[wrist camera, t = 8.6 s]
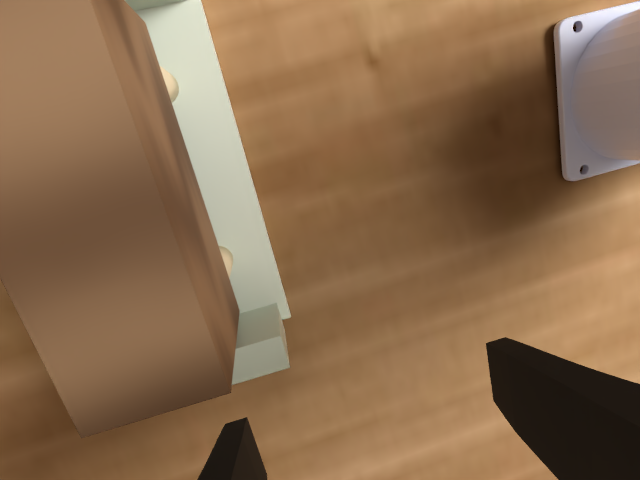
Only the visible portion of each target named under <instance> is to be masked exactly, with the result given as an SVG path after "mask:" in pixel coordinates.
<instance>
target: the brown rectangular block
mask: <svg viewBox="0 0 640 480" xmlns="http://www.w3.org/2000/svg"><path fill="white" fill-rule="evenodd" d="M0 279H1V281H2V283H3V285H4V287H5V289H6V291H7V293H8V295H9V297H10V298H11V300H12V302H13V304H14V306H15V308H16V310H17V312H18V314H19V316H20V318H21V320H22V322H23V324H24V326H25V328H26V330H27V332H28V334H29V336H30V338H31V340H32V342H33V344H34V346H35V348H36V350H37V352H38V354H39V356H40V358H41V360H42V362H43V364H44V366H45V368H46V370H47V372H48V374H49V376H50V378H51V380H52V382H53V384H54V385H55V387H56V389H57V391H58V393H59V395H60V397H61V399H62V401H63V403H64V405H65V407H66V409H67V411H68V413H69V415H70V417H71V419H72V421H73V423H74V425H75V427H76V429H77V431H78V433H79V435H80V437H81V438H84V437H87V436H91V435H94V434H97V433H100V432H104V431H107V430H110V429H114V428H117V427H120V426H123V425H127V424H130V423H133V422H137V421H140V420H143V419H146V418H150V417H153V416H156V415H160V414H163V413H166V412H169V411H173V410H176V409H179V408H183V407H186V406H189V405H192V404H196V403H199V402H202V401H206V400H209V399H212V398H215V397H219V396H222V395H225V394H229V393H231V386H232V377H233V368H234V359H235V350H236V341H237V331H238V322H239V313H240V310H239V307H238V304H237V301H236V298H235V295H234V292H233V288H232V285H231V282H230V279H229V276H228V273H227V270H226V267H225V264H224V261H223V258H222V255H221V252H220V249H219V246H218V243H217V240H216V237H215V234H214V230H213V227H212V224H211V221H210V218H209V215H208V212H207V209H206V206H205V203H204V200H203V197H202V194H201V191H200V188H199V185H198V182H197V179H196V175H195V172H194V169H193V166H192V163H191V160H190V157H189V154H188V151H187V148H186V145H185V142H184V139H183V136H182V133H181V130H180V127H179V124H178V121H177V117H176V114H175V111H174V108H173V105H172V102H171V99H170V96H169V93H168V90H167V87H166V84H165V81H164V78H163V75H162V72H161V69H160V66H159V62H158V59H157V56H156V53H155V50H154V47H153V44H152V41H151V38H150V35H149V32H148V29H147V26H146V23H145V22H144V21H143V20H142V19H141V17H140V16H139V15H138V14H137V13H136V12H135V11H134V10H133V9H132V8H131V7H130V6H129V5H128V4H127V3H126V2H125V1H124V0H0Z"/></svg>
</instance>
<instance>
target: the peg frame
mask: <svg viewBox="0 0 640 480" xmlns="http://www.w3.org/2000/svg"><path fill="white" fill-rule="evenodd" d="M124 1H125V2H126V3H127V4H128V5H129V6H130V7H131V8H132V9H133V10H134V11H135V12H136V13H137V14H138V15H139V16H140V17H141V19H142V20H143V21H144V22H145V23H146V26H147V29H148V32H149V35H150V38H151V41H152V44H153V47H154V50H155V53H156V56H157V59H158V62H159V66H160V69H161V72H162V75H163V78H164V81H165V84H166V87H167V90H168V93H169V96H170V99H171V102H172V105H173V108H174V111H175V114H176V117H177V121H178V124H179V127H180V130H181V133H182V136H183V139H184V142H185V145H186V148H187V151H188V154H189V157H190V160H191V163H192V166H193V169H194V172H195V175H196V179H197V182H198V185H199V188H200V191H201V194H202V197H203V200H204V203H205V206H206V209H207V212H208V215H209V218H210V221H211V224H212V227H213V230H214V234H215V237H216V240H217V243H218V246H219V249H220V252H221V255H222V258H223V261H224V264H225V267H226V270H227V273H228V276H229V279H230V282H231V285H232V288H233V292H234V295H235V298H236V301H237V304H238V307H239V310H240V313H239V322H238V331H237V341H236V350H235V359H234V368H233V377H232V385H234V384H237V383H241V382H244V381H247V380H251V379H254V378H257V377H261V376H264V375H267V374H271V373H274V372H277V371H281V370H284V369H287V368H290V363H289V356H288V349H287V342H286V335H285V329H284V326H283V322H282V320H284V319H287V318H291V314H290V310H289V306H288V303H287V299H286V296H285V292H284V289H283V285H282V282H281V278H280V275H279V271H278V268H277V264H276V261H275V257H274V254H273V250H272V247H271V243H270V240H269V236H268V233H267V229H266V226H265V222H264V219H263V215H262V212H261V208H260V205H259V201H258V198H257V194H256V191H255V187H254V184H253V180H252V177H251V173H250V170H249V166H248V163H247V159H246V156H245V152H244V149H243V145H242V142H241V138H240V135H239V131H238V128H237V124H236V121H235V117H234V114H233V110H232V107H231V103H230V100H229V96H228V93H227V89H226V86H225V82H224V79H223V75H222V72H221V68H220V65H219V61H218V58H217V54H216V51H215V47H214V44H213V40H212V37H211V33H210V30H209V26H208V23H207V19H206V16H205V12H204V9H203V5H202V2H201V0H124Z"/></svg>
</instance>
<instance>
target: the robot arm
mask: <svg viewBox="0 0 640 480" xmlns="http://www.w3.org/2000/svg"><path fill="white" fill-rule="evenodd" d="M573 24H575V25H576V31H575V32H574V30H573ZM554 47H555V63H556V79H557V96H558V112H559V128H560V145H561V161H562V175H563V178H564V179H565V180H567V181H578V180H581V179H585V178H588V177H592V176H596V175H599V174H603V173H607V172H610V171H614V170H617V169H621V168H625V167H628V166H632V165H635V164H639V163H640V1H637V2H632V3H628V4H624V5H620V6H615V7H611V8H607V9H603V10H598V11H594V12H590V13H586V14H582V15H577V16H573V17H569V18H566V19H563V20H561V21H559V22H558V23H557V24H556V26H555V28H554ZM581 166H582V167H583V170H582V172H581V173H580V168H581ZM486 347H487V355H488V363H489V370H490V378H491V385H492V393H493V400H494V402H495V403H496V405H497V406H498V408H499V409H500V411H501V412H502V414H503V415H504V417H505V418H506V419H507V421H508V422H509V423H510V425H511V426H512V428H513V429H514V430H515V432H516V433H517V434H518V435H519V436H520V437H521V439H522V440H523V441H524V442H525V443H526V444H527V445H528V446H529V447H530V449H531V450H532V451H533V452H534V453H535V454H536V455H537V456H538V458H539V459H540V460H541V461H542V462H543V463H544V464H545V465H546V466H547V467H548V469H549V470H550V471H551V472H552V473H553V474H554V475H555V476H556V477H557V478H558V480H640V384H638V383H634V382H631V381H628V380H624V379H621V378H618V377H615V376H612V375H609V374H605V373H602V372H599V371H596V370H594V369H591V368H588V367H585V366H582V365H579V364H576V363H574V362H571V361H568V360H565V359H563V358H560V357H557V356H555V355H552V354H550V353H547V352H544V351H542V350H539V349H536V348H534V347H531V346H528V345H526V344H523V343H520V342H518V341H515V340H512V339H509V338H506V337H505V338H501V339H498V340H495V341H492V342H488V343H486ZM198 480H267V473H266V470H265V468H264V465H263V462H262V459H261V456H260V453H259V450H258V448H257V445H256V442H255V439H254V436H253V433H252V430H251V428H250V425H249V422H248V419H247V417H246V418H243V419H240V420H236V421H233V422H230V423H227V424H225V426H224V427H223V429H222V431H221V433H220V435H219V437H218V439H217V441H216V444H215V446H214V448H213V450H212V452H211V454H210V456H209V458H208V460H207V462H206V464H205V466H204V468H203V470H202V472H201V474H200V476H199V478H198Z"/></svg>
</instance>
